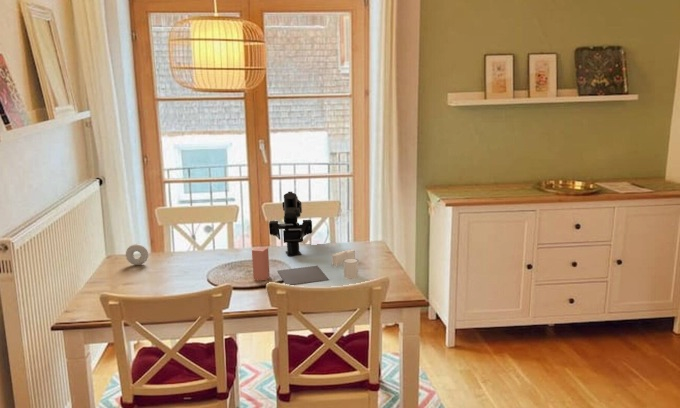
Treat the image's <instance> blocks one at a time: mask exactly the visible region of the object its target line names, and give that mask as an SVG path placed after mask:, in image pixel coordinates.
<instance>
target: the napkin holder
mask: <svg viewBox="0 0 680 408" xmlns="http://www.w3.org/2000/svg"><path fill="white" fill-rule="evenodd" d="M348 258H355V259H356V250H355V249H354V248H353V249H352V248H350V249H348V250H343V251H339V252H336V253H332V254H331V266H332V267H333V266H334V267H338V266H340V265H341V266H342V265H343V260H344V259H348Z"/></svg>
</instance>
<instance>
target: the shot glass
mask: <svg viewBox="0 0 680 408" xmlns="http://www.w3.org/2000/svg"><path fill="white" fill-rule="evenodd" d="M342 266H343V273H344V276H343V277H344V278H345V279H349V280H352V279H353V280H354V279H357V278H359V277H358V276H359V266H360V260H359V259H358V258H356V257H355V258H348V259H344V260H343V264H342Z"/></svg>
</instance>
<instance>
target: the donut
mask: <svg viewBox="0 0 680 408" xmlns="http://www.w3.org/2000/svg"><path fill="white" fill-rule="evenodd" d="M135 252H138V253H139V254H140V256H139V257H136V256H134V253H135ZM125 257H126V260H127V261H128V263H130V264H131V265H133V266H142V265H143V264H145V263H146V262H147V261H148V259H149V251H148V249H147V248H146V247H145V246H144V245H143V244H140V243H134V244H131V245H129V247H127V248H126V251H125Z"/></svg>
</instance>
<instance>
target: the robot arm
mask: <svg viewBox="0 0 680 408" xmlns="http://www.w3.org/2000/svg"><path fill="white" fill-rule="evenodd" d="M302 208H303V206H302V202H301V201H300V200H299V198H298V195H297V194H296V193H295V192H293V191H287V193H285V194H283V201H282V210H283V211H284V212H283V213H284V214H283V215H284V216H283V223H279V220H270V221H269V222H268V228H269V230H268V231H269V235H270V236H274V237H276V238H277V239H278V240H281V233H280V230H283V232H282V235H283V236H282V237H283V243H284V244H285V243H286V250H287V251H286V250H285V251H284V252H285V255H287V256H288V257H293V256H302V253H301V251H300V243H302V242H304V237H305V236H307V235H310V234H312V233H313V223H312V222H313V221H312V219H303V220H302V223H301V224H300V223H299V222H298V218H300V217H301V214H302V213H303V209H302Z"/></svg>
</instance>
